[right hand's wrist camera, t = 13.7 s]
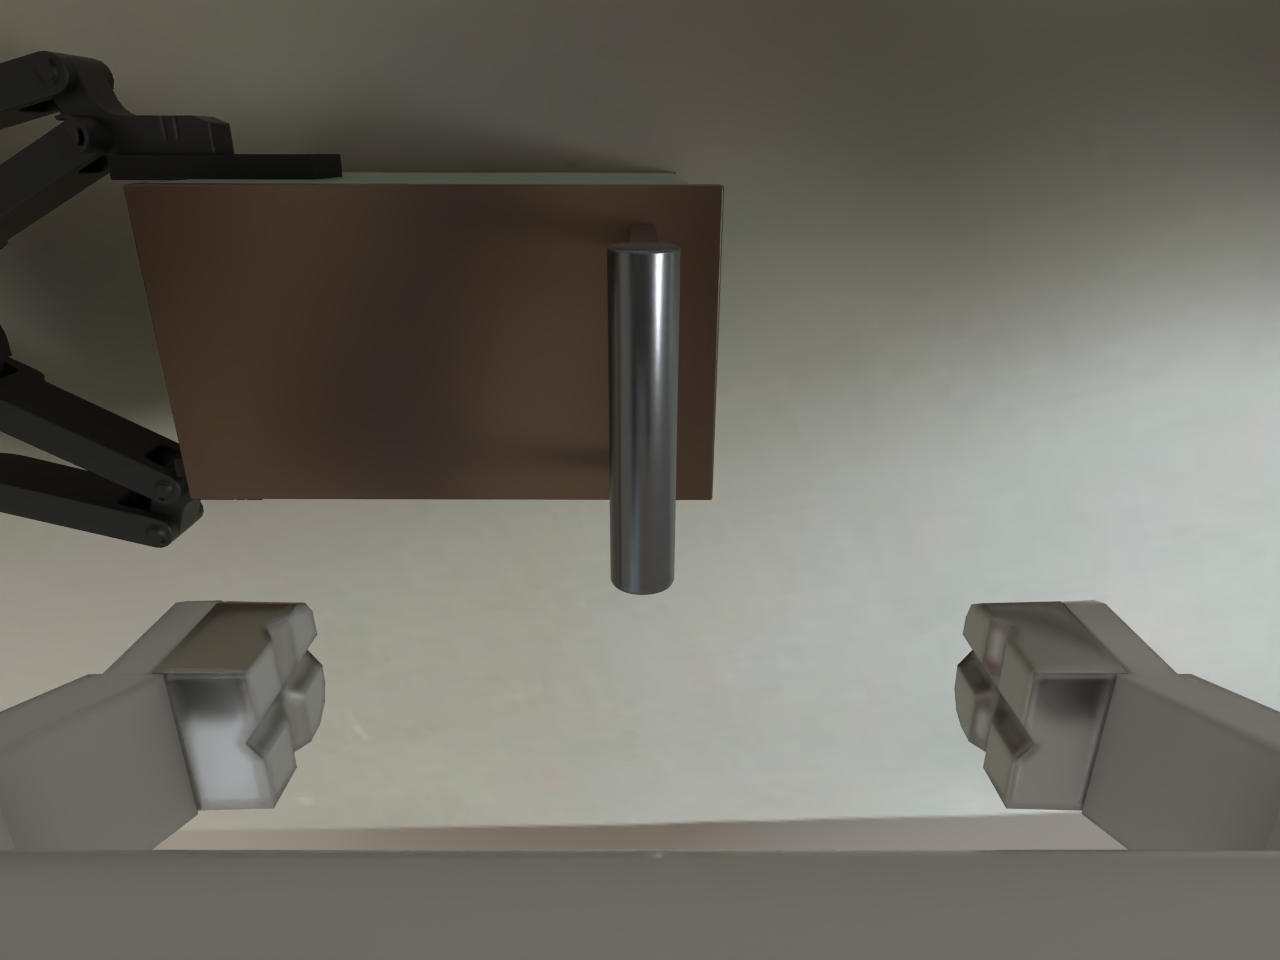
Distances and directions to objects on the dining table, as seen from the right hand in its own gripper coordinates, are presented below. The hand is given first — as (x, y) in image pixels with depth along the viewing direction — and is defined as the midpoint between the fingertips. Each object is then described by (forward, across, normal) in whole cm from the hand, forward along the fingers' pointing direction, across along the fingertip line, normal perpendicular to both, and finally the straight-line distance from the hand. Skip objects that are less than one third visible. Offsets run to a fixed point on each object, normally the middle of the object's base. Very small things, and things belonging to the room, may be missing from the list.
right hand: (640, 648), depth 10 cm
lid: (+17, +6, 0) cm, 18 cm away
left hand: (+21, +10, 0) cm, 23 cm away
